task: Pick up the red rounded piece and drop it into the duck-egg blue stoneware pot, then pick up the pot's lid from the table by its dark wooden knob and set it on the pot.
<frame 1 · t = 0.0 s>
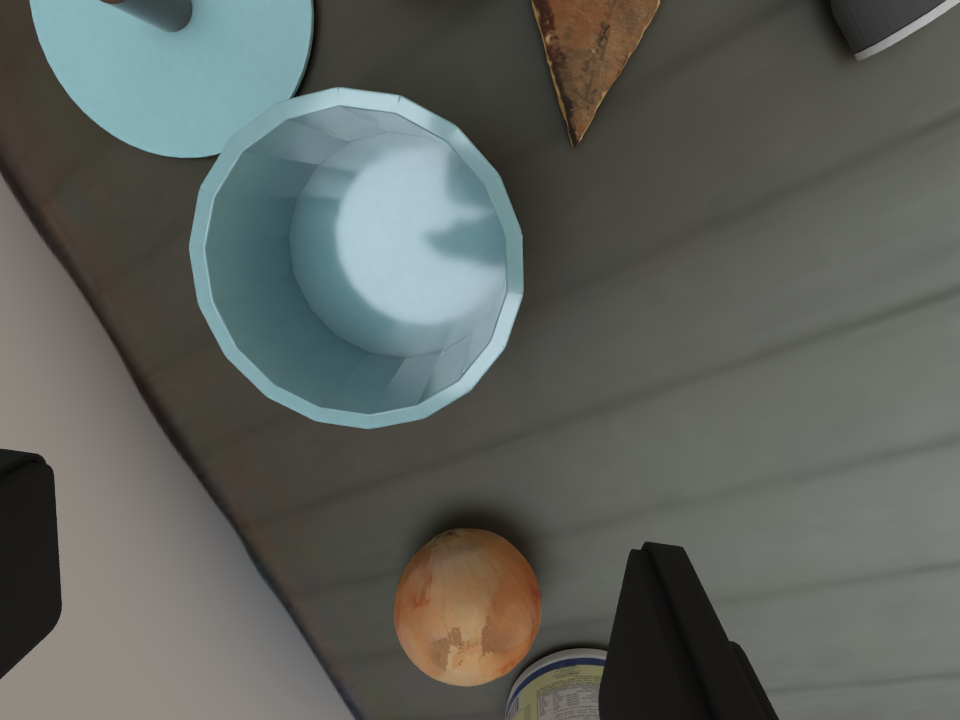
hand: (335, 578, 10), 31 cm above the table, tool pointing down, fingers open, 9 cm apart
shard: (606, 27, 36), on the table
pot: (399, 249, 39), on the table
onion: (472, 561, 45), on the table
supplement tub: (582, 703, 48), on the table
lid: (173, 8, 36), point 1 cm above the table
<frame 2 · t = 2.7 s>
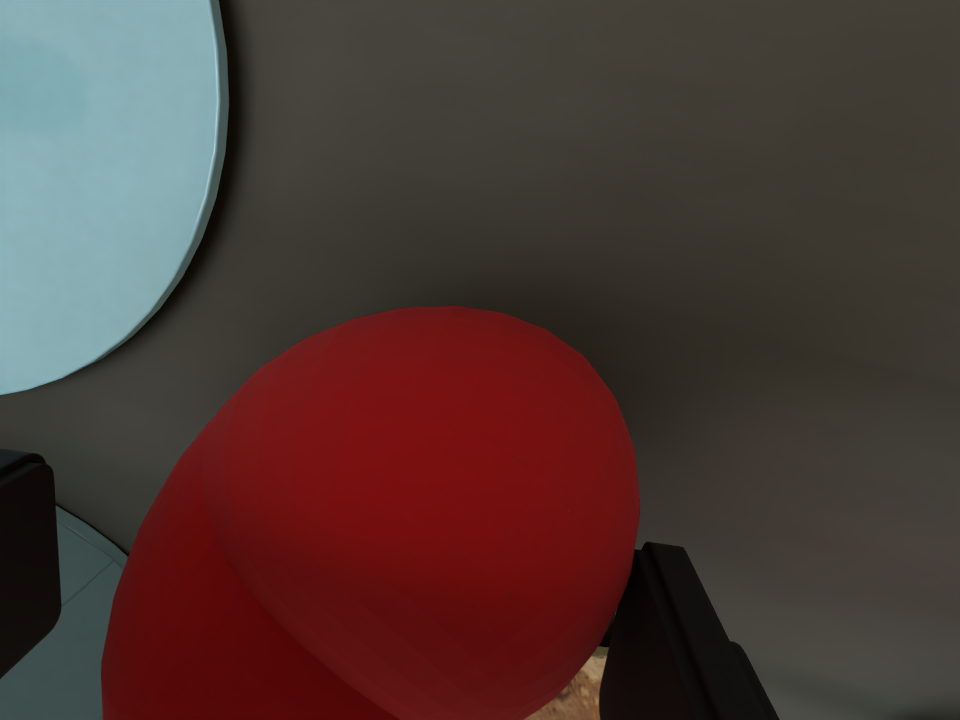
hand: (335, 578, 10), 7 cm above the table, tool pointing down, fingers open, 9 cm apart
red rounded piece: (439, 408, 17), on the table, touching gripper
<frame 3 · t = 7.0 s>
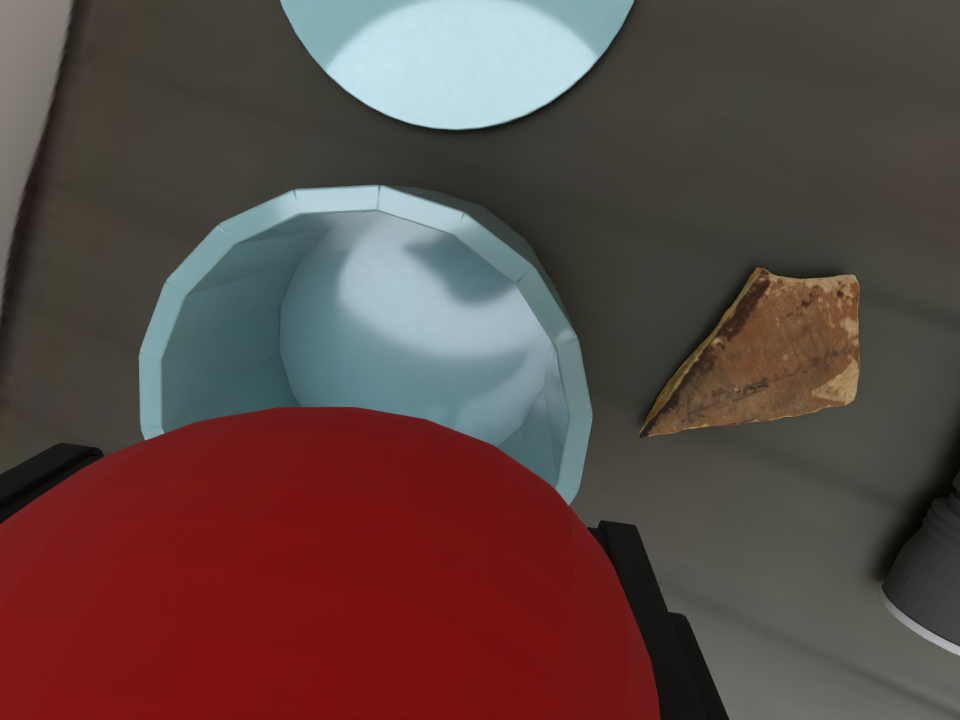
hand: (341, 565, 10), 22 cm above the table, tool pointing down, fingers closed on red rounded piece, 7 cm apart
shard: (760, 372, 32), on the table
pot: (414, 343, 32), on the table
red rounded piece: (380, 488, 13), point 19 cm above the table, touching gripper
when the fingers open (11 cm above the table, at t = 10.6 s): red rounded piece drops 8 cm, resting on pot.
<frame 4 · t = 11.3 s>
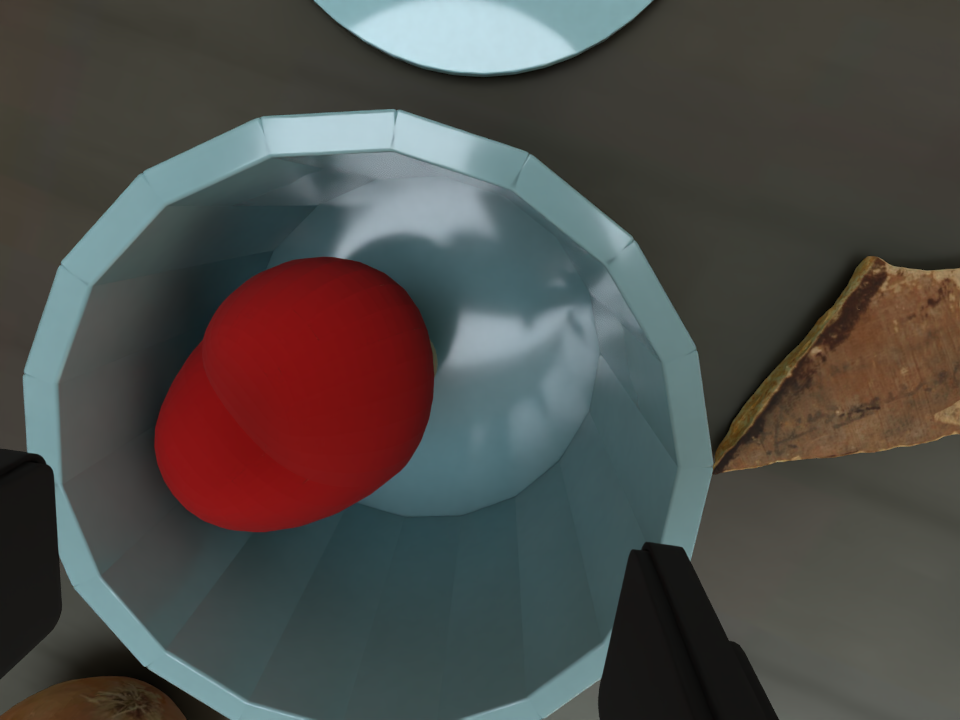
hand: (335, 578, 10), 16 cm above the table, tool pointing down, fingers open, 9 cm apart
shard: (860, 389, 25), on the table
pot: (423, 355, 25), on the table
red rounded piece: (421, 354, 24), point 1 cm above the table, touching pot
onion: (141, 710, 30), on the table
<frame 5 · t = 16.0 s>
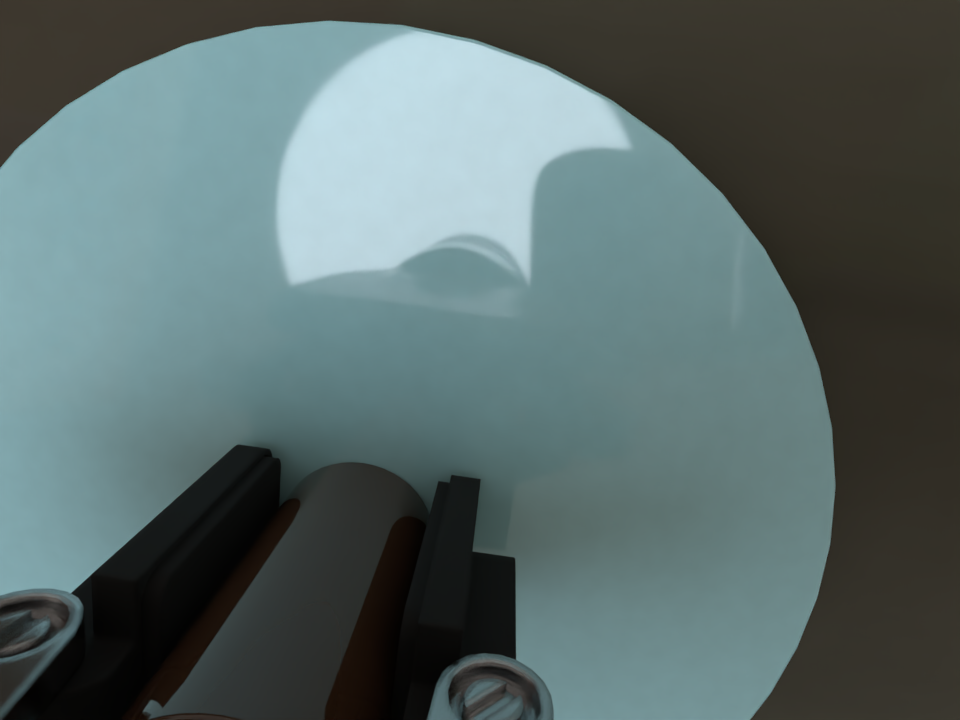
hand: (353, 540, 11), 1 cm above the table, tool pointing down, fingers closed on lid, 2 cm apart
lid: (364, 517, 12), point 1 cm above the table, touching gripper
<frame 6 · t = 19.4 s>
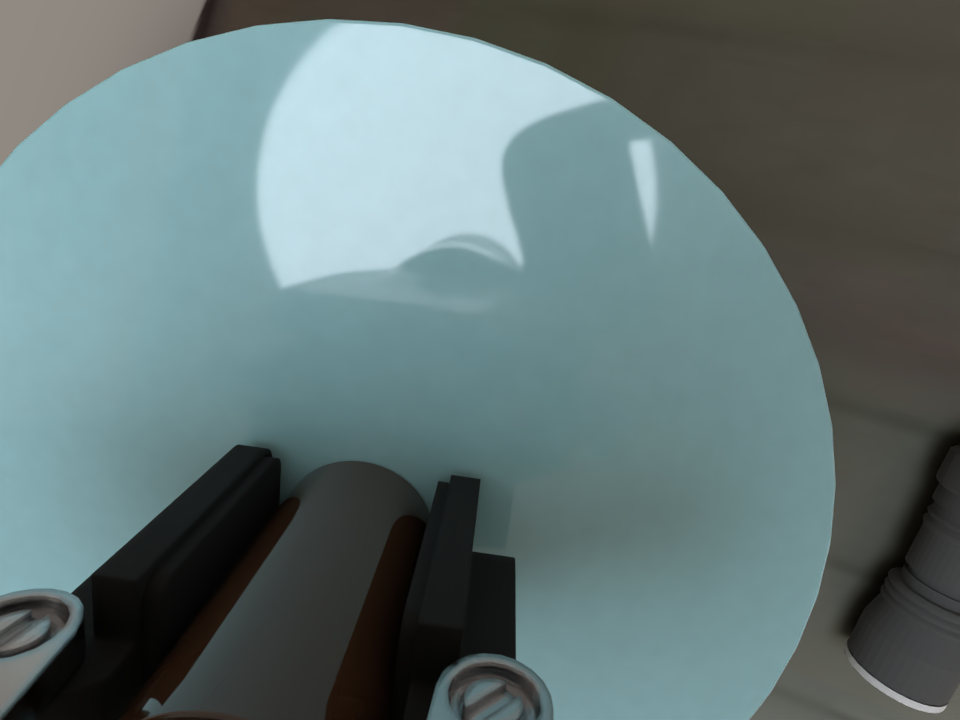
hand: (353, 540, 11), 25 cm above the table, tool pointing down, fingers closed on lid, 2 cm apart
flashlight: (917, 546, 38), on the table
lid: (364, 516, 12), point 24 cm above the table, touching gripper
when the fingers open (13 cm above the table, at t = 23.2 s): lid stays where it is, resting on red rounded piece, pot.
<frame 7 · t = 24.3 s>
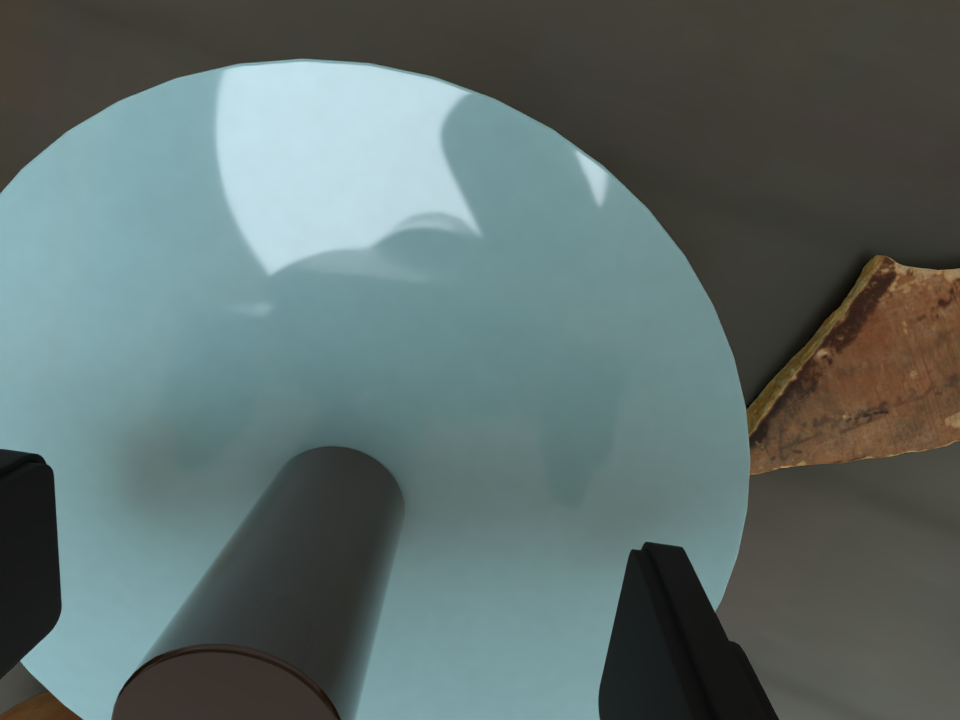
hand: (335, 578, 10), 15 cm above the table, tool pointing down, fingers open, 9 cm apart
shard: (868, 392, 24), on the table
onion: (132, 717, 30), on the table
lid: (342, 495, 13), point 12 cm above the table, touching red rounded piece, pot
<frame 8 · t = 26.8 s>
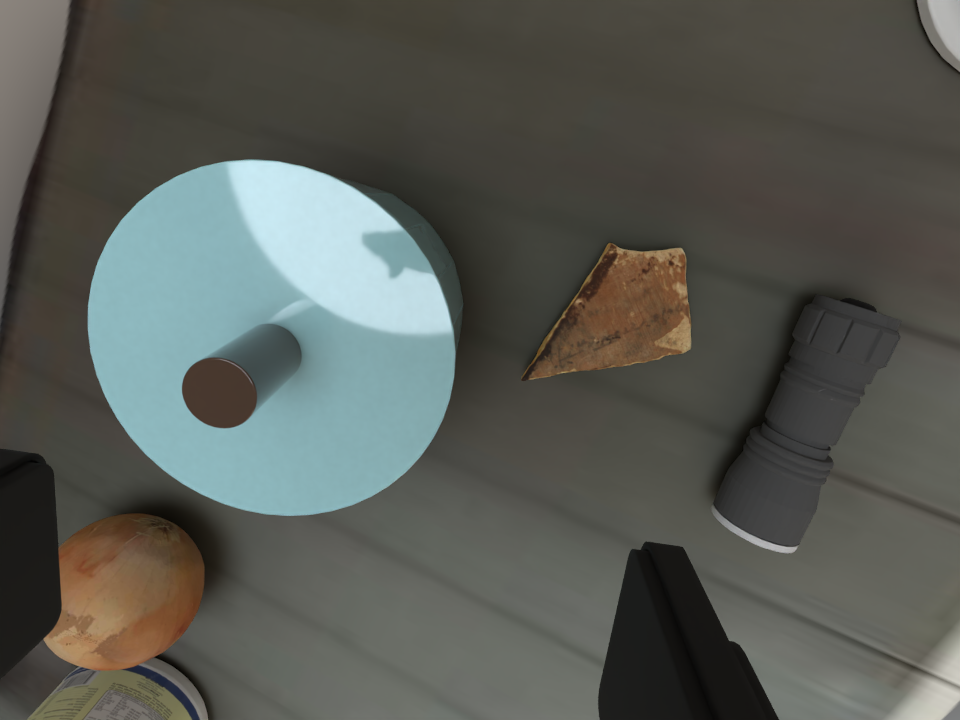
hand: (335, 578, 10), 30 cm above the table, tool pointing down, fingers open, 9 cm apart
shard: (620, 328, 39), on the table
pot: (343, 306, 40), on the table
onion: (165, 546, 45), on the table
flashlight: (782, 409, 40), on the table
supplement tub: (142, 705, 49), on the table
lid: (275, 350, 28), point 12 cm above the table, touching red rounded piece, pot
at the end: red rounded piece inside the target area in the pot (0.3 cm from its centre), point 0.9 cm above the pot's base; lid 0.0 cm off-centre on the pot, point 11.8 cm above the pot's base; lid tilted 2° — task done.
